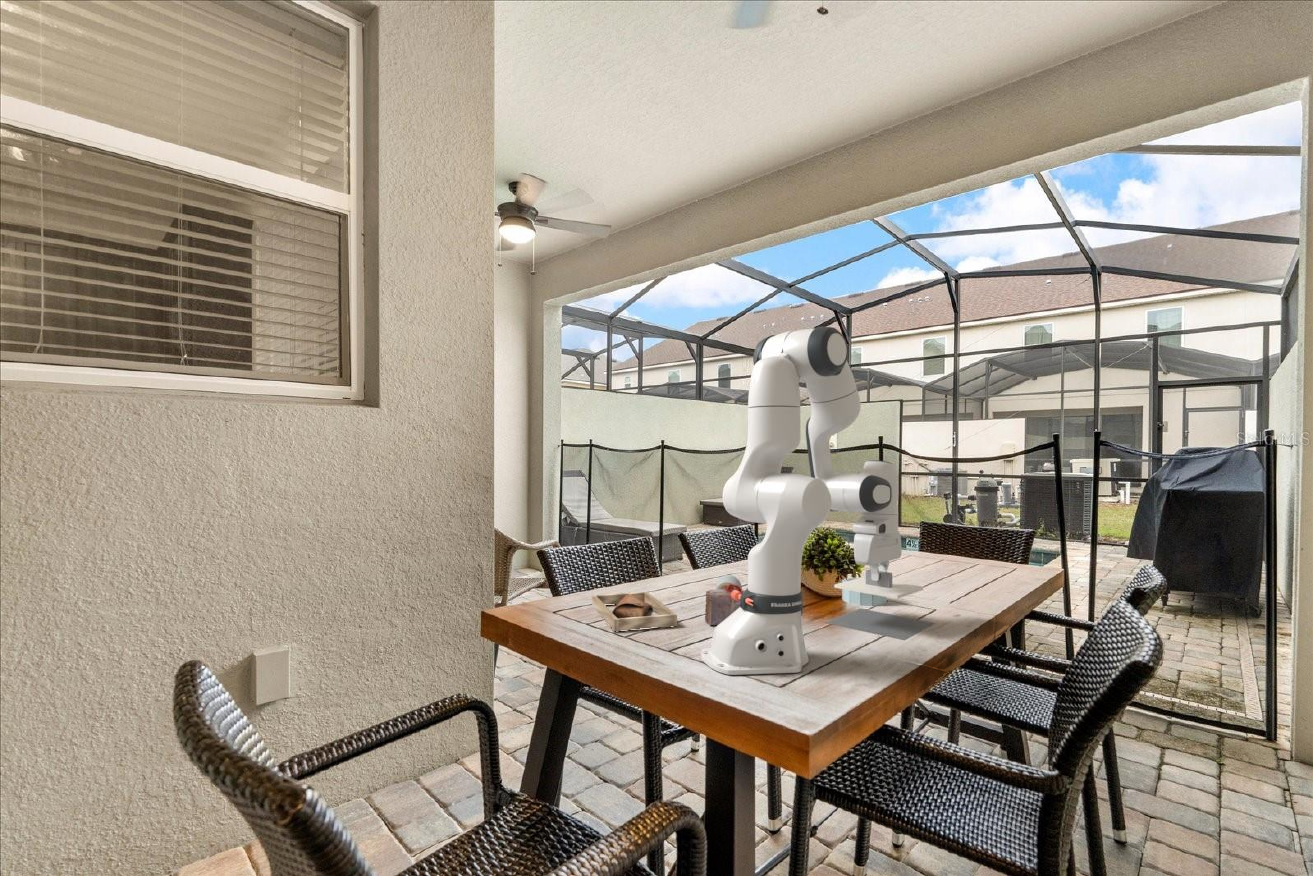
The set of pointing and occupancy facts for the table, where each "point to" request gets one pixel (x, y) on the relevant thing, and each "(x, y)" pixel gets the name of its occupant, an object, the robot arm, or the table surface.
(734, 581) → the ceramic mug
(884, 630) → the mat
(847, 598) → the bowl
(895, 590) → the cream board with block
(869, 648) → the table surface
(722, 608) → the food item
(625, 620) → the case frame
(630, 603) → the sunglasses case
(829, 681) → the table surface
